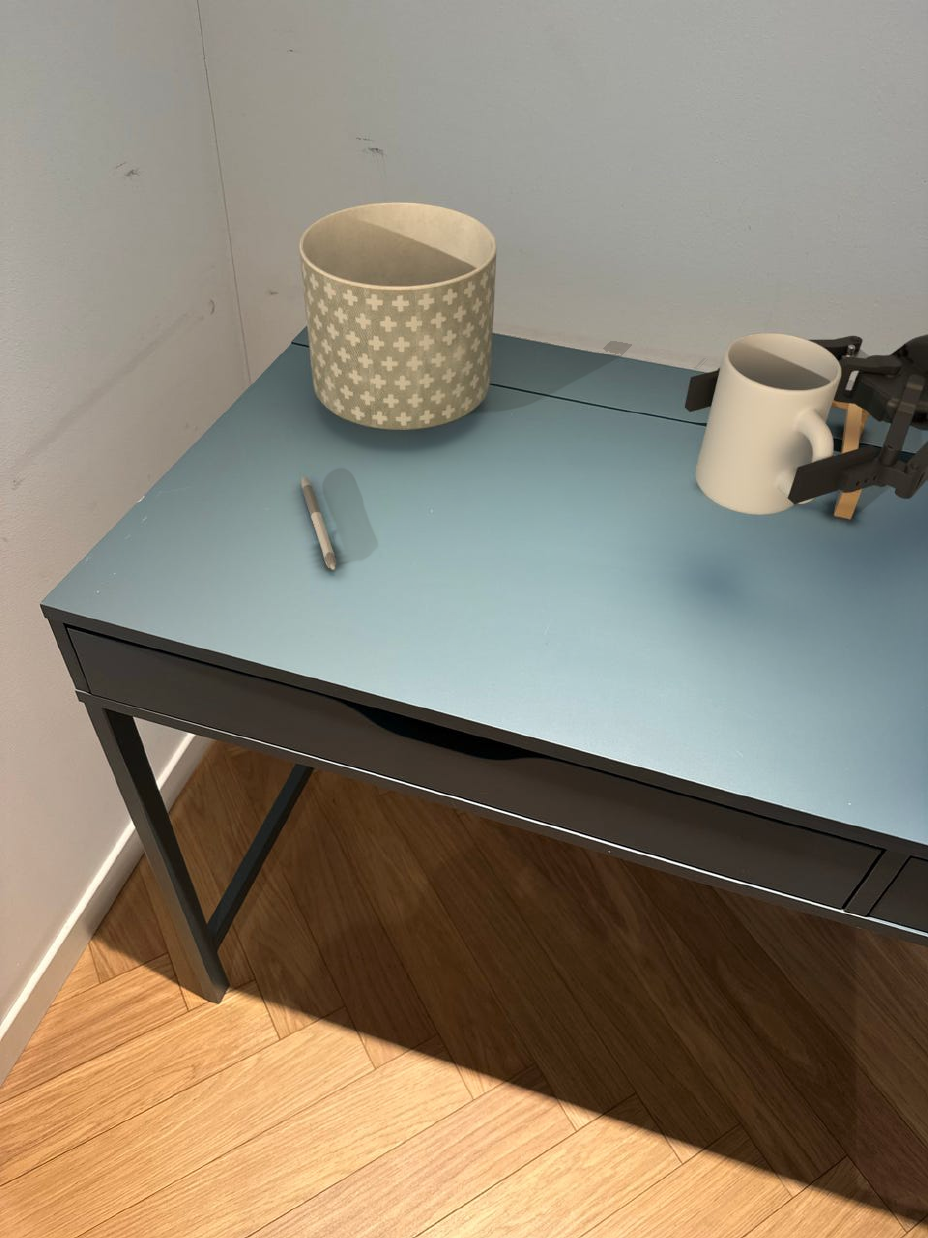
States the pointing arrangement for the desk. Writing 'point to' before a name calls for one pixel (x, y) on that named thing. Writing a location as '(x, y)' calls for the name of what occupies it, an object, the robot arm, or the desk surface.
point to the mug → (766, 421)
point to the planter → (399, 313)
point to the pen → (318, 523)
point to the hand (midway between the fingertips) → (739, 437)
